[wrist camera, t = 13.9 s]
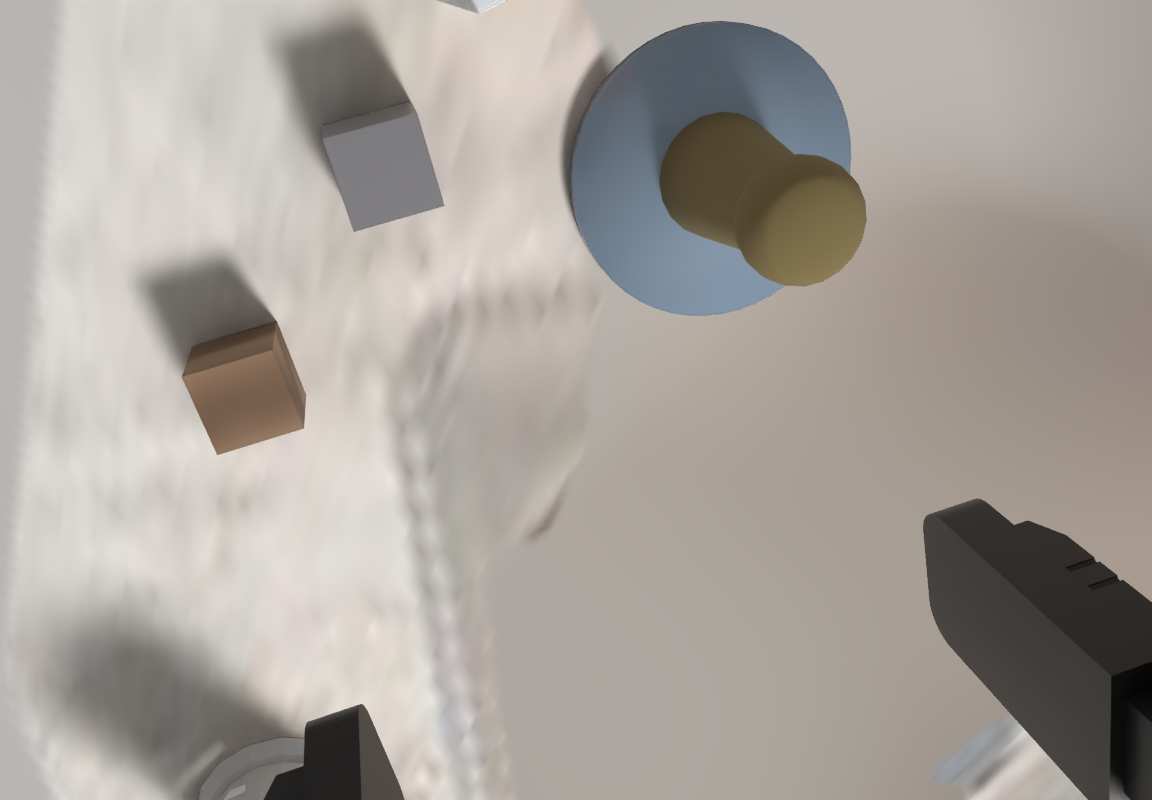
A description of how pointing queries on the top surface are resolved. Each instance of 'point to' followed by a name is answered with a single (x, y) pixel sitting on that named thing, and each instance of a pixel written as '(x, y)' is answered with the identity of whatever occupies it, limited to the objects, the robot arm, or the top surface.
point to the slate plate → (643, 135)
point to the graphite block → (382, 165)
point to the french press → (253, 770)
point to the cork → (763, 199)
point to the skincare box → (474, 4)
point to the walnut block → (245, 388)
